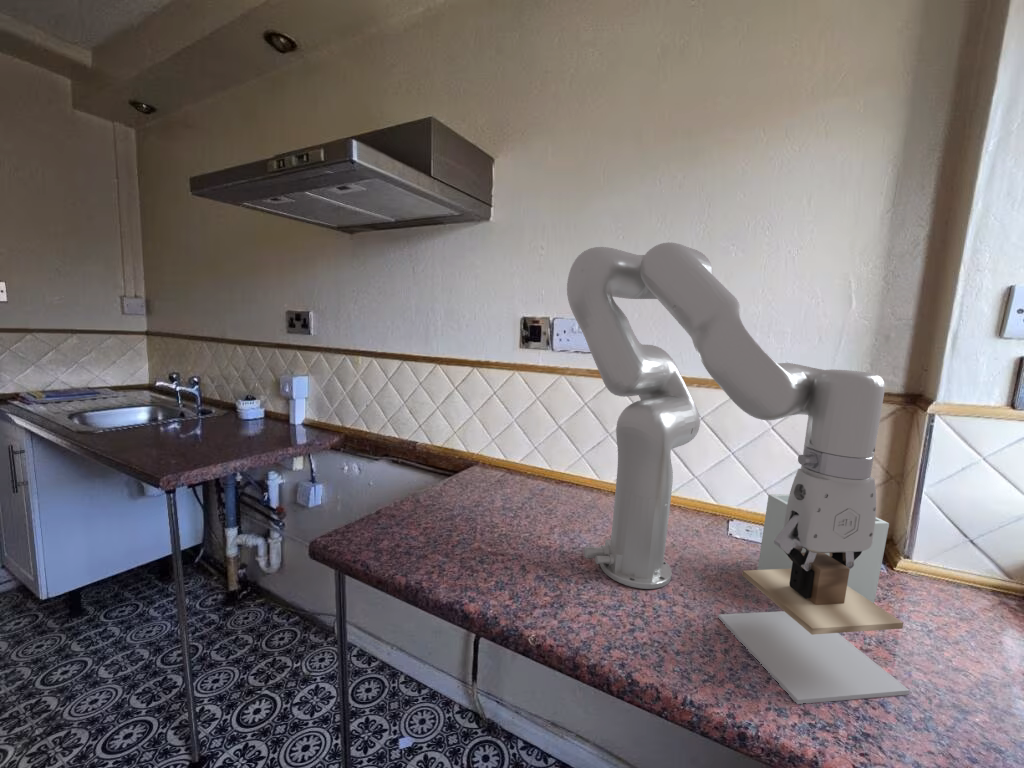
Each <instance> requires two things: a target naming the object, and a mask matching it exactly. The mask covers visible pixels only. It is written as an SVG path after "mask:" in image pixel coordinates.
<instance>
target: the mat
mask: <svg viewBox="0 0 1024 768" xmlns="http://www.w3.org/2000/svg"><path fill="white" fill-rule="evenodd" d="M717 618H719V619H720V620H721V621H722V622H723V623H722V622H721V621H720V620H719V621H720V622H721V623H722V624H723V625H724V624H725V625H724V626H725V627H726V629H727V630H728V631H729V630H730V631H731V632H730V631H729V632H730V633H731V634H732V633H733V634H732V635H733V636H734V635H735V636H734V637H735V638H736V639H737V641H739V643H740V642H741V643H742V644H743V645H744V646H745V647H746V648H745V647H744V646H743V645H742V644H741V643H740V644H741V645H742V646H743V647H744V648H745V649H746V650H747V649H748V650H747V652H749V654H750V655H751V654H752V655H753V656H754V657H755V658H756V659H757V660H758V661H759V662H760V663H759V662H758V661H757V660H756V659H755V658H754V657H753V656H752V655H751V656H752V657H753V658H754V659H755V660H756V661H757V662H758V663H759V664H760V665H761V664H762V665H761V667H762V666H763V667H764V668H765V669H766V670H767V671H768V672H767V671H766V670H765V669H764V668H763V667H762V668H763V669H764V670H765V671H766V672H767V673H768V674H769V673H770V674H769V675H770V676H771V675H772V676H771V678H772V679H773V678H774V679H775V680H776V681H777V682H778V683H779V684H778V683H777V682H776V681H775V680H774V679H773V680H774V681H775V682H776V683H777V684H778V685H779V686H780V688H781V689H782V690H783V691H784V690H785V691H786V692H787V693H788V694H789V695H788V694H787V693H786V692H785V691H784V692H785V693H786V694H787V695H788V696H789V697H790V698H791V699H792V700H793V702H794V703H795V702H796V703H797V704H796V705H804V704H803V703H806V704H816V703H826V702H839V701H849V700H861V699H872V698H874V699H875V698H882V697H883V698H885V697H893V696H894V697H897V696H908V695H909V694H910V689H909V688H907V687H906V686H905V685H904V684H902V683H901V682H900V681H899V680H898V679H896V678H895V677H894V676H893V675H891V674H890V673H889V672H887V671H886V669H883V668H882V667H881V666H880V665H879V664H878V663H876V662H875V661H874V660H872V658H870V657H869V656H867V654H865V653H864V652H862V651H861V650H860V649H858V648H857V647H856V646H855V645H854V644H853V643H851V642H850V641H849V640H847V639H846V638H845V637H844V636H842V635H841V633H829V634H814V635H812V634H810V633H809V632H808V631H807V630H806V629H805V628H803V627H802V626H801V625H800V624H799V623H798V622H796V621H795V620H794V619H793V618H792V617H790V616H789V615H788V614H787V613H786V612H785V611H783V610H780V611H761V612H743V613H740V612H739V613H724V614H723V613H722V614H721V613H720V614H718V615H717Z"/></svg>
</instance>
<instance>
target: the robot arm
mask: <svg viewBox="0 0 1024 768" xmlns="http://www.w3.org/2000/svg"><path fill="white" fill-rule="evenodd" d="M566 281H567V283H566V292H567V293H566V295H567V302H568V304H569V308H570V310H571V313H572V315H573V317H574V319H575V321H576V322H577V324H578V327H579V328H580V330H581V333H582V334H583V336H584V339H585V341H586V344H587V347H588V349H589V351H590V354H591V356H592V359H593V361H594V364H595V366H596V368H597V370H598V373H599V376H600V377H601V379H602V382H603V383H604V385H605V388H606V389H607V390H608V391H609V392H610V393H611V394H612V395H615V396H617V397H635V396H638V397H639V399H640V400H636V401H635V402H632V403H630V404H629V405H627V406H626V407H625V408H624V409H623V410H622V411H621V413H620V415H619V416H618V420H617V421H616V427H615V432H616V434H615V435H616V446H617V447H616V448H617V469H616V471H617V472H616V482H615V493H614V503H613V515H612V524H611V525H612V526H611V533H610V539H605V541H604V542H605V543H604V544H601V545H599V546H598V547H596V546H585V547H584V549H583V554H584V558H585V559H594V561H595V564H596V565H599V566H600V568H601V570H602V571H603V572H604V574H605V575H606V576H608V577H609V578H610V579H612V580H613V581H615V582H618V583H619V584H621V585H624V586H627V587H631V588H634V589H644V590H655V589H658V588H659V589H660V588H662V587H665V586H666V585H668V584H669V583H670V582H671V579H672V572H673V571H672V567H671V566H670V565H669V563H668V562H666V560H665V554H666V552H665V551H666V545H667V536H668V526H669V518H670V510H671V500H672V490H673V481H674V480H673V479H674V476H673V473H674V472H673V471H674V470H673V464H672V458H671V457H672V456H671V453H672V452H671V451H672V450H673V449H675V448H678V447H682V446H684V445H686V444H688V443H690V442H692V440H694V439H695V437H696V436H697V434H698V433H699V430H700V426H701V422H700V421H701V420H700V414H699V410H698V408H697V406H696V403H695V401H694V399H693V397H692V395H691V393H690V391H689V388H688V386H687V385H686V382H685V381H684V378H683V376H682V374H681V372H680V370H679V368H678V366H677V364H676V362H675V360H674V359H673V358H672V357H671V355H670V354H669V353H668V352H667V351H666V350H665V349H664V348H661V347H659V346H656V345H653V344H642V343H641V342H640V341H639V339H638V338H637V336H636V335H635V331H634V330H633V328H632V326H631V323H630V321H629V319H628V318H627V316H626V314H625V312H624V311H623V310H622V308H620V307H619V305H618V304H617V303H616V301H615V299H614V298H619V299H620V298H621V299H628V300H629V299H630V300H658V302H659V303H660V304H661V305H662V306H663V307H664V309H666V311H668V312H669V314H670V315H671V316H672V317H673V318H674V319H675V321H677V323H678V324H679V325H680V327H682V329H683V330H684V331H685V332H686V333H687V334H688V335H689V337H690V339H691V340H692V343H693V347H694V349H695V351H696V353H697V355H698V356H699V359H700V361H701V364H702V365H703V366H704V369H705V370H706V372H708V374H709V376H710V377H711V378H712V379H713V381H714V382H715V383H716V384H717V385H718V386H719V387H720V389H722V391H723V392H724V393H725V394H726V395H727V396H728V398H730V400H732V402H733V403H734V404H735V405H736V406H737V407H738V408H739V409H740V410H742V411H743V412H744V413H746V414H747V415H748V416H751V418H755V419H758V420H761V421H762V420H763V421H775V420H780V419H783V418H787V417H789V416H791V417H792V416H798V415H802V416H803V415H805V416H807V424H806V430H805V437H804V445H803V452H802V454H800V455H798V458H797V462H798V464H799V465H800V468H798V469H797V471H796V474H795V476H794V478H793V482H792V484H791V487H790V491H789V493H788V494H789V498H788V503H787V507H786V513H785V519H784V528H783V529H782V531H781V532H780V533H779V534H778V536H777V537H776V538H775V540H774V543H775V544H776V545H777V546H778V547H779V548H781V549H782V550H783V551H784V552H785V553H786V554H787V555H788V557H789V559H790V560H791V561H793V563H792V569H791V576H790V583H789V584H790V587H791V588H792V589H794V590H795V591H796V592H798V593H799V594H800V595H802V596H803V597H804V598H811V593H812V587H813V580H814V573H815V571H813V570H812V569H811V568H812V565H813V562H814V560H815V557H816V554H817V553H829V555H830V557H832V558H833V559H835V560H837V561H838V562H840V563H842V564H843V565H845V566H847V567H848V568H850V569H851V568H853V566H854V560H855V559H856V558H857V557H858V556H859V555H860V554H861V553H862V551H865V550H867V549H869V548H870V547H871V545H872V543H873V537H874V530H875V520H876V517H877V487H876V481H875V478H874V477H872V475H871V474H872V471H873V470H872V469H873V462H874V457H875V451H876V445H877V441H878V440H877V438H878V435H879V434H878V433H879V429H880V428H879V427H880V421H881V415H882V408H883V403H884V396H885V389H886V383H885V381H884V379H883V378H882V376H880V375H878V374H876V373H873V372H867V371H858V370H849V369H848V370H847V369H821V368H816V367H811V366H807V365H802V364H798V363H791V362H780V363H779V362H776V361H775V360H774V359H773V358H772V357H771V356H770V355H769V354H768V353H767V352H766V351H765V349H764V348H763V347H762V346H760V344H759V343H758V342H757V341H756V340H755V338H753V336H752V335H751V334H750V333H749V332H748V330H747V328H746V327H745V325H744V324H743V322H742V319H741V315H740V314H741V313H740V312H741V305H740V301H739V300H738V298H737V297H736V296H735V295H734V294H733V293H731V291H729V290H728V288H726V286H725V285H724V284H722V283H721V282H720V281H719V279H717V278H716V276H714V273H713V267H712V263H711V262H710V260H709V258H708V257H707V256H706V255H705V254H704V253H703V252H701V251H699V250H697V249H694V248H692V247H688V246H687V245H684V244H680V243H676V242H670V241H669V242H663V243H659V244H657V245H654V246H653V247H651V248H650V249H649V250H648V251H647V252H646V253H645V254H635V253H632V252H629V251H625V250H624V251H623V250H621V249H617V248H613V247H608V246H595V247H591V248H590V247H589V248H587V249H586V250H583V251H582V252H580V253H579V255H577V257H576V258H575V259H574V262H573V263H572V265H571V267H570V269H569V273H568V277H567V280H566ZM793 540H794V542H793ZM792 542H793V545H792ZM803 548H804V549H806V552H805V555H804V556H803V555H802V554H801V551H802V549H803Z"/></svg>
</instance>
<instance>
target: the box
mask: <svg viewBox="0 0 1024 768" xmlns="http://www.w3.org/2000/svg"><path fill="white" fill-rule="evenodd" d="M789 494H790V493H787V494H785V493H783V494H782V493H780V494H777V493H775V494H772V493H771V494H768V497H767V503H766V511H765V517H764V523H763V531H762V537H761V545H760V551H759V557H758V565H757V570H769V569H792V563H793V561H791V560H790V559H789V557H788V555H787V554H786V553H785V552H784V551H783V550H782V549H781V548H779V547H778V546H777V545H776V544H775V543H774V540H775V538H776V537H777V536H778V534H779V533H780V532H781V531H782V529H783V528H784V519H785V513H786V507H787V503H788V498H789ZM889 527H890V523H889V522H887V521H885V520H883V519H881V518H879V517H877V516H876V520H875V530H874V537H873V543H872V545H871V547H870V548H869V549H867V550H865V551H862V553H861V554H860V555H859V556H858V557H857V558H856V559H855V560H854V566H853V568H851V569H850V571H849V577H848V583H847V586H848V587H850V588H851V589H853V590H854V591H856V592H857V593H859V594H860V595H862V596H863V597H865V598H867V599H868V600H870V601H871V602H873V603H874V604H875V600H876V596H877V590H878V586H879V579H880V576H881V575H880V574H881V569H882V563H883V560H884V559H883V558H884V553H885V548H886V543H887V538H888V532H889ZM793 542H794V540H793ZM793 542H792V545H793ZM802 552H806V549H804V548H803V549H802V551H801V553H802ZM825 554H827V555H828V556H830V555H829V553H825Z"/></svg>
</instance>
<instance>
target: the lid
mask: <svg viewBox="0 0 1024 768" xmlns="http://www.w3.org/2000/svg"><path fill="white" fill-rule="evenodd" d="M801 554H802V555H803V556H804V555H805V552H802V553H801ZM811 569H812V570H813V571H815V573H814V580H813V587H812V593H811V598H804V597H803V596H802V595H800V594H799V593H798V592H796V591H795V590H794V589H792V588H791V587H790V584H789V583H790V576H791V569H769V570H758V569H749V570H747V569H746V570H742V574H741V575H742V577H743V578H745V580H746V581H748V582H749V583H750V584H751V585H753V586H754V587H755V588H756V589H757V590H759V591H760V592H761V593H762V594H763V595H765V596H766V597H767V598H768V599H770V600H771V601H772V602H773V603H774V604H775V605H776V606H778V607H779V608H780V609H781V611H785V612H786V613H787V614H788V615H789V616H790V617H792V618H793V619H794V620H795V621H796V622H798V623H799V624H800V625H801V626H802V627H803V628H805V629H806V630H807V631H808V632H809V633H810V634H812V635H814V634H829V633H839V634H842V633H856V632H870V631H886V630H888V631H889V630H900V629H903V627H904V622H903V621H901V620H900V619H899V618H897V617H896V616H894V615H892V614H891V613H889V612H888V611H886V610H885V609H883V608H882V607H880V606H878V605H877V604H876V603H875V602H874V603H873V602H871V601H870V600H868V599H867V598H865V597H863V596H862V595H860V594H859V593H857V592H856V591H854V590H853V589H851V588H850V587H848V586H847V583H848V577H849V571H850V568H848V567H847V566H845V565H843V564H842V563H840V562H838V561H837V560H835V559H833V558H832V557H830V556H828V555H827V554H825V553H817V554H816V557H815V560H814V562H813V565H812V568H811Z"/></svg>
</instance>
